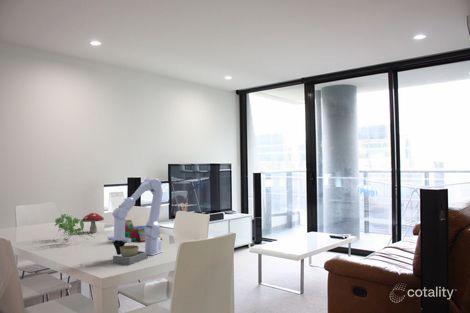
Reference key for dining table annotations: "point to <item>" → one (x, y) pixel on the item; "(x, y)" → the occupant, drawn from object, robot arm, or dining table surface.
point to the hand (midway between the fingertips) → (119, 254)
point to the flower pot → (129, 250)
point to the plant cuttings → (69, 225)
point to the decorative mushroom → (93, 220)
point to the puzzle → (134, 232)
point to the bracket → (130, 258)
